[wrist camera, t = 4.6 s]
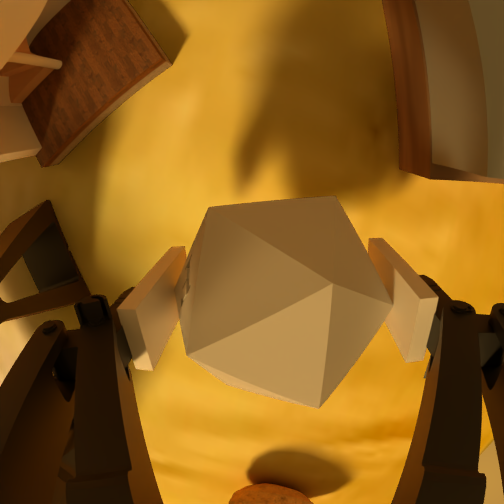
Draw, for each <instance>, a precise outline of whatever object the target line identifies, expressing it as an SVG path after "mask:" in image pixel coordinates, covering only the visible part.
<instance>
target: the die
mask: <svg viewBox="0 0 504 504" xmlns="http://www.w3.org/2000/svg"><path fill="white" fill-rule="evenodd" d="M174 291H175V297H176V303H177V309H178V314H179V320H180V325H181V330H182V335H183V340H184V345H185V350H186V355H187V356H188V357H189V358H191V359H192V360H193V361H195V362H196V363H197V364H199V365H200V366H201V367H203V368H204V369H205V370H207V371H208V372H210V373H211V374H212V375H214V376H215V377H217V378H218V379H219V380H221V381H222V382H224V383H225V384H226V385H229V386H232V387H236V388H239V389H242V390H246V391H249V392H253V393H256V394H260V395H264V396H267V397H271V398H275V399H279V400H283V401H287V402H291V403H295V404H299V405H304V406H308V407H313V408H317V409H319V408H320V407H321V406H322V405H323V403H324V402H325V401H326V400H327V399H328V397H329V396H330V395H331V394H332V392H333V391H334V390H335V389H336V387H337V386H338V385H339V383H340V382H341V381H342V380H343V378H344V377H345V376H346V374H347V373H348V372H349V370H350V369H351V368H352V366H353V365H354V364H355V362H356V361H357V360H358V358H359V357H360V355H361V354H362V353H363V351H364V350H365V348H366V347H367V346H368V344H369V343H370V341H371V340H372V338H373V337H374V335H375V334H376V332H377V331H378V330H379V328H380V327H381V325H382V323H383V322H384V320H385V319H386V317H387V316H388V314H389V313H390V311H391V310H392V308H393V303H392V301H391V299H390V297H389V295H388V292H387V290H386V288H385V286H384V284H383V282H382V280H381V278H380V276H379V274H378V272H377V270H376V268H375V266H374V264H373V262H372V261H371V259H370V257H369V255H368V253H367V251H366V249H365V247H364V245H363V244H362V242H361V240H360V238H359V236H358V234H357V233H356V231H355V229H354V227H353V225H352V224H351V222H350V220H349V218H348V216H347V215H346V213H345V211H344V209H343V208H342V206H341V204H340V203H339V201H338V199H337V197H336V196H323V197H310V198H297V199H285V200H274V201H263V202H252V203H242V204H233V205H223V206H214V207H209V208H208V210H207V212H206V214H205V217H204V219H203V221H202V224H201V226H200V228H199V231H198V233H197V235H196V238H195V240H194V242H193V245H192V247H191V249H190V252H189V254H188V257H187V259H186V261H185V264H184V266H183V269H182V271H181V274H180V276H179V279H178V281H177V283H176V286H175V288H174Z"/></svg>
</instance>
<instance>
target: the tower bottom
mask: <svg viewBox="0 0 504 504" xmlns="http://www.w3.org/2000/svg"><path fill="white" fill-rule="evenodd" d="M382 4H383V9H384V14H385V19H386V25H387V30H388V36H389V42H390V49H391V56H392V64H393V72H394V81H395V91H396V102H397V116H398V135H399V169H400V170H403V171H406V172H409V173H412V174H416V175H419V176H422V177H425V178H428V179H434V180H456V181H473V182H488V183H500V184H504V179H498V178H488V177H484V176H481V175H477V174H473V173H470V172H466V171H462V170H458V169H455V168H451V167H447V166H442V165H438V164H434V163H432V129H431V109H430V95H429V84H428V75H427V66H426V59H425V52H424V45H423V39H422V33H421V28H420V22H419V17H418V13H417V8H416V4H415V0H382Z"/></svg>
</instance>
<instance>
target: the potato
mask: <svg viewBox="0 0 504 504" xmlns="http://www.w3.org/2000/svg"><path fill="white" fill-rule="evenodd" d="M229 504H313V503H312V502H311V501H310V500H309V499H308V498H307V497H306V496H305V495H304V494H302V493H301V492H299V491H297V490H294V489H290V488H287V487H283V486H280V485H275V484H268V483H263V484H256V485H250V486H246V487H244V488H242V489H240V490H238V491H236V492H235V493H234V494H233V495H232V498H231V499H230V501H229Z"/></svg>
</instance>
